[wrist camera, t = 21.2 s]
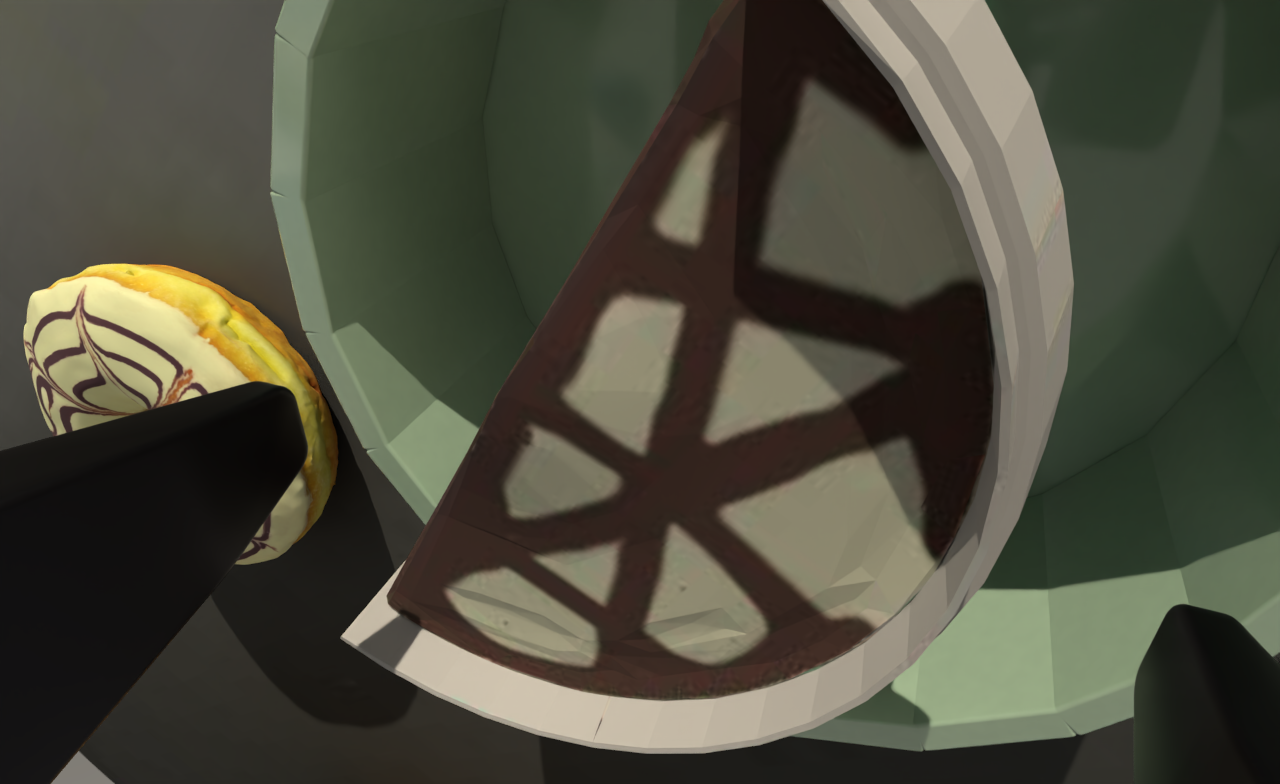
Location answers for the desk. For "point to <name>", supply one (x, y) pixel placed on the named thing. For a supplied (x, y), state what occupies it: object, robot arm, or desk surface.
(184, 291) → the decorated donut
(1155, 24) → the pot
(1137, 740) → the robot arm
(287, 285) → the desk surface
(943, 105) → the food container
